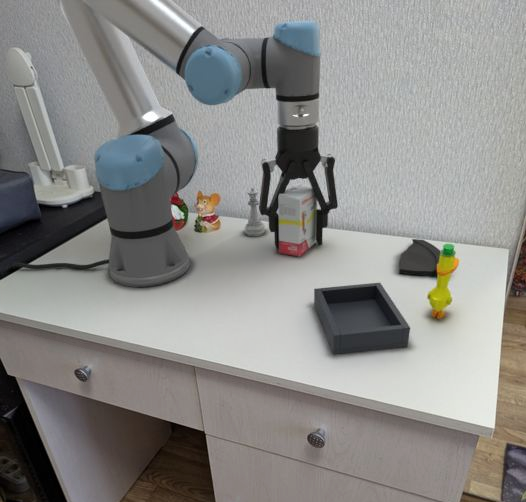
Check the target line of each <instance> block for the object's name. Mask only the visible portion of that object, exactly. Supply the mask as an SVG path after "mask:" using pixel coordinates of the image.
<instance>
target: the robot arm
mask: <svg viewBox="0 0 526 502" xmlns="http://www.w3.org/2000/svg"><path fill="white" fill-rule="evenodd" d="M55 1H56V3H57V5H58V7H59V9H60V11H61V13H62V14H63V17H64V19H65V20H66V22H67V25H68V26H69V28H70V30H71V33H72V34H73V36H74V38H75V40H76V43H77V44H78V46H79V48H80V51H81V52H82V54H83V56H84V58H85V60H86V62H87V64H88V66H89V68H90V70H91V72H92V74H93V76H94V78H95V80H96V82H97V84H98V85H99V87H100V90H101V91H102V94H103V96H104V98H105V100H106V101H107V103H108V105H109V107H110V109H111V111H112V113H113V115H114V117H115V119H116V122H117V123H118V131H117V136H116V138H115V139H113V138H112V139H111V140H108V141H106V142H104V143H102V144H101V145H100V146H99V147H98V148H97V149H96V151H95V153H94V157H93V161H94V166H95V167H94V168H95V177H96V180H97V182H98V186H99V190H100V195H101V198H102V204H103V207H104V210H105V215H106V220H107V224H108V227H109V231H110V236H111V237H110V250H109V256H108V257H109V258H108V259H104V260H100V261H95V262H92V263H87V264H77V263H70V262H69V263H68V262H54V263H43V264H42V263H41V264H32V263H31V264H30V263H24V262H13V263H14V266H8V265H7V266H6V267H5V269H4V272H9V271H11V270H12V269H13V268H16V267H17V268H25V269H29V270H30V269H31V270H41V269H52V268H53V269H54V268H71V269H77V270H88V269H93V268H96V267H100V266H104V265H108V269H109V274H110V278H111V279H112V280H113V281H114V282H116V283H117V284H119V285H122V286H127V287H133V288H135V287H136V288H144V287H146V288H147V287H153V286H159V285H163V284H166V283H170V282H172V281H174V280H177V279H178V278H180V277H182V276H183V275H184V274H186V273H187V272H188V270H189V269H190V268H189V267H190V258H189V253H188V252H187V250H186V248H185V245H184V243H183V241H182V240H181V238H180V236H179V234H178V231H177V230H176V228H175V223H174V218H173V217H174V216H173V211H172V203H171V199H173V197H175V196H176V195H177V194H178V193H179V192H180V191H181V190H183V189H184V188H185V187H187V185H189V184H190V182H191V181H192V180H193V178H194V175H196V172H197V170H198V166H199V151H198V147H197V144H196V143H195V139H193V137H192V136H191V134H190V133H188V132H187V131H186V130H185V129H183V128H181V127H180V126H179V124H178V123H177V121H176V119H175V116H174V113H173V112H172V110H168V109H167V108H164V107H163V106H161V105H160V102H159V101H158V98H157V96H156V93H155V92H154V89H153V87H152V85H151V83H150V80H149V78H148V76H147V73H146V72H145V70H144V67H143V65H142V63H141V61H140V58H139V56H138V55H137V52H136V50H135V48H134V46H133V43H132V41H133V42H135V43H136V44H137V45H139V46H140V47H141V48H143V50H145V51H146V52H148V53H149V54H151V55H152V56H153V57H154V58H156V59H157V60H158V61H159V62H161V63H162V64H163V65H165V66H166V67H167V68H168V69H170V70H171V71H172V72H173V73H175V74H176V75H178V76H179V77H180V78H181V79H183V80H184V81H185V84H186V87H187V89H188V91H189V93H190V94H191V96H192V97H193V98H194V99H195V100H196V101H198V102H199V103H200V104H203V105H207V106H218V105H223V104H225V103H229V102H230V101H232V100H233V99H234V98H235V97H236V96H237V95H239V94H241V93H242V92H244V91H245V90H256V89H257V90H258V89H259V90H260V89H274V90H275V107H276V109H275V110H276V112H275V113H276V123H277V125H279V126H278V127H277V128H276V143H277V144H276V145H277V146H276V147H277V150H276V151H277V152H276V154H275V157H274V158H270V159H265V158H263V159H262V160H261V161H260V165H261V170H262V179H261V186H260V194H259V195H260V196H259V204H258V210H259V213H260V215H261V216H267V217H268V229H269V231H270V233H274V246H275V249H276V250H279V212H278V211H279V210H278V196H279V194H284V192H285V190H286V189H287V188H288V185H289V184H290V181H293V180H297V179H301V180H308V182H309V185H310V186H311V187H312V189H313V191H314V193H315V196H316V198H317V204H318V206H319V209H318V208H317V210H316V243H317V245H318V246H323V232H324V231H323V229H325V228H327V227H328V226H329V224H328V223H329V213H330V211H331V210H337V209H338V207H339V204H338V197H337V189H336V181H335V173H334V168H335V163H336V159H335V157H334V156H333V155H332V154H331V153H328V154H321V153H320V151H319V137H320V136H319V132H320V131H319V130H320V127H319V126H318V125H317V123H319V121H320V78H321V56H322V55H321V53H322V52H321V40H320V39H321V37H320V33H321V32H320V26H319V25H318V23H316V22H315V21H313V20H302V21H301V20H300V21H298V20H297V21H285V22H284V21H283V22H277V23H276V24H275V25H274V27H273V33H272V36H269V37H257V38H256V37H255V38H254V37H252V38H250V37H248V38H245V37H244V38H229V37H224V38H218V36H216V35H215V34H214V33H212V32H211V31H209V29H206V28H205V27H204V25H202V24H201V23H200V22H199V21H198V20H196V19H195V18H194V17H193V16H192V15H190V14H188V12H186V11H185V10H184V9H183V8H181V7H180V6H179V5H178V4H177V3H175V2H174V1H173V0H55ZM131 40H132V41H131ZM320 163H321V166H322V167H323V168H324V169H323V171H324V176H325V177H324V178H325V184H326V185H325V186H326V192H327V196H328V199H327V200H328V201H327V202H326V200H325V196H324V195H323V191H322V189H321V187H320V185H319V183H318V180H317V178H316V175H315V173H314V171H315V170H316V168H317V167H318V165H319V164H320ZM275 166H277V168H279V170H280V171H281V173H280V176H279V179H278V183H277V184H276V185H277V186H276V188H275V190H274V193H273V196H272V198H271V201H270V203H269V206H268V201H269V196H270V195H269V194H270V186H271V178H272V174H271V173H273V172H274V171H275Z"/></svg>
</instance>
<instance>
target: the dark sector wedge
mask: <svg viewBox="0 0 526 502" xmlns="http://www.w3.org/2000/svg"><path fill="white" fill-rule="evenodd" d="M411 241H412V244H410V245H409V246H408V247H407V249H405V250H404V251H402V253H400V257H399V263H398V269H399V271H398V272H399V274H406V275H416V276H434V277H437V275H438V273H437V264H438V263H439V258H440V251H441V250H440V249H439V248H438V247H436V246H435V245H433V244H432V243H430V242H429V241H427V240H424V239H417V238H412V239H411Z"/></svg>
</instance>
